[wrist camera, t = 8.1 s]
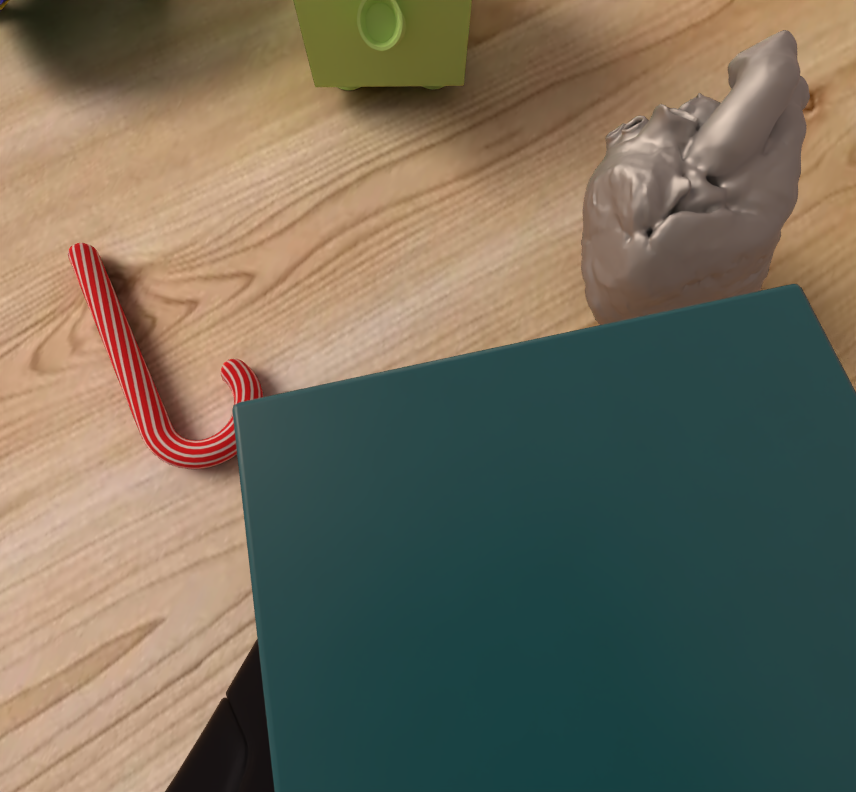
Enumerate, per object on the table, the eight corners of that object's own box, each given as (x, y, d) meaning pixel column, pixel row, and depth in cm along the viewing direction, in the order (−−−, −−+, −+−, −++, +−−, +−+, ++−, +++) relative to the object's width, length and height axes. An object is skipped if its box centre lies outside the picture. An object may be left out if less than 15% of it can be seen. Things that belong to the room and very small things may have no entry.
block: (547, 602, 14) (1199, 1038, 2) (411, 637, 13) (333, 1360, 2) (509, 465, 15) (801, 279, 3) (383, 495, 15) (229, 401, 3)
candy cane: (177, 216, 26) (163, 198, 24) (287, 431, 22) (277, 425, 21) (77, 261, 25) (56, 245, 23) (174, 493, 21) (156, 491, 20)
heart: (499, 332, 23) (648, 181, 12) (551, 193, 26) (718, -49, 14) (664, 406, 24) (957, 334, 12) (699, 265, 26) (973, 93, 15)
